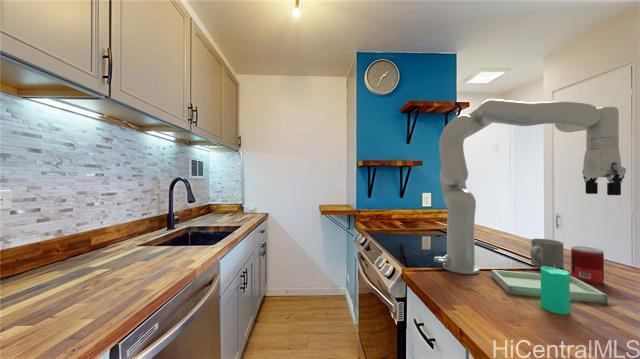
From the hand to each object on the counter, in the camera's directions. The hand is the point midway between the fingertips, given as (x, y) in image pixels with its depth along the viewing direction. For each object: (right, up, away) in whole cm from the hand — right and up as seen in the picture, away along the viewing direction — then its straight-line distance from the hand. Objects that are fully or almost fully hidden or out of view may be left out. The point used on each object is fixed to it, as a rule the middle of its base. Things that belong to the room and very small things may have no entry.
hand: (602, 194), depth 89 cm
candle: (-32, -30, -18) cm, 48 cm away
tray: (-24, -30, -5) cm, 39 cm away
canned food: (-3, -30, +2) cm, 31 cm away
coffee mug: (-4, -31, +19) cm, 36 cm away
